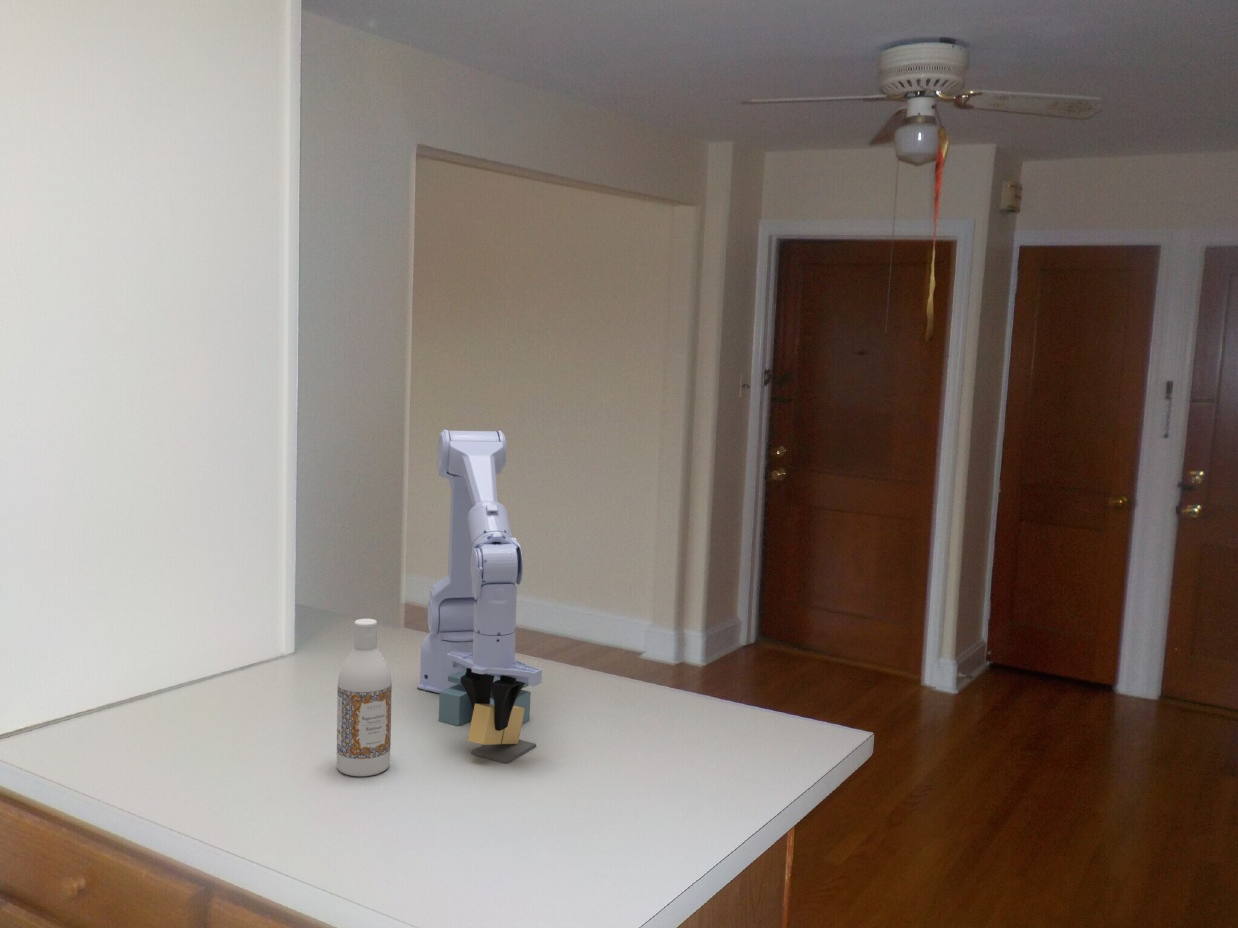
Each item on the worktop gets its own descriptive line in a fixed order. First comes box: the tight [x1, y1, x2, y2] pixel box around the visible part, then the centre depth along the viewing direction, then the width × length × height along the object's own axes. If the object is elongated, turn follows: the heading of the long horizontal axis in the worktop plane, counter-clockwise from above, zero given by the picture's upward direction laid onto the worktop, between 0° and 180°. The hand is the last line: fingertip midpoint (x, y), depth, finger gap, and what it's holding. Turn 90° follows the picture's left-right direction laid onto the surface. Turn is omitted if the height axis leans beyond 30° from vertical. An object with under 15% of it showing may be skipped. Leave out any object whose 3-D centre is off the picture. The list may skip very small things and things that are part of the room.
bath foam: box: [336, 618, 393, 777], centre depth 144 cm, size 7×7×20 cm
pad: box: [470, 739, 537, 764], centre depth 153 cm, size 6×7×1 cm
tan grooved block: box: [467, 704, 525, 745], centre depth 152 cm, size 3×9×5 cm, turn 152°
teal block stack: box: [438, 669, 531, 727], centre depth 164 cm, size 11×8×6 cm
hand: (491, 725), depth 151 cm, fingers closed on tan grooved block, 3 cm apart
